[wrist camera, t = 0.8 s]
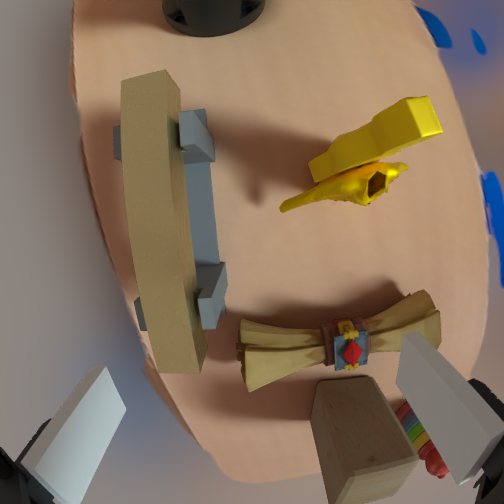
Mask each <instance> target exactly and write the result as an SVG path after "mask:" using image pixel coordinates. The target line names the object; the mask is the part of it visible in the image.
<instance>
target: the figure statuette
mask: <svg viewBox="0 0 504 504" xmlns="http://www.w3.org/2000/svg"><path fill="white" fill-rule="evenodd" d="M441 133H443V130H442V127H441V125H440V122H439V120H438V118H437V115H436V113H435V111H434V108H433V106H432V104H431V102H430V99H429V97H428V96H422V97H407V98H403V99H401V100H400V101H398V102H397V103H396V104H394V105H392V106H390V107H389V108H387V109H385V110H383V111H381V112H380V113H378V114H377V115H375V116H374V117H373V119H372V121H371V122H369V123H368V124H366V125H364V126H362V127H360V128H358V129H357V130H354V131H352V132H349V133H346V134H343V135H340V136H338V137H337V138H336V139H335V140H334V142H333V144H331V145H330V146H329V149H328V151H326V152H325V153H323V154H321V155H319V156H317V157H316V158H314V159H312V160H311V161H310V162H309V163H308V166H309V168H310V171H311V174H312V176H313V179H314V181H315V183H317V182H320V183H319V185H318V186H316V187H314V188H312V189H310V190H308V191H306V192H304V193H302V194H300V195H297V196H295V197H292V198H290V199H287V200H285V201H284V202H283V203H282V204H281V206H280V211H281V212H282V213H284V212H286V211H289V210H291V209H294V208H297V207H300V206H302V205H306V204H309V203H312V202H317V201H321V200H325V199H330V200H334V201H337V200H338V201H344V202H346V201H350V202H353V203H355V204H359V205H364V206H366V204H370V202H372V201H373V200H375V199H376V198H378V197H379V196H380V195H381V194H382V193H384V192H388V184H390V183H391V182H393V181H394V179H395V178H397V177H398V176H399V174H400V173H401V172H403V171H405V170H408V168H409V167H408V165H407V164H405V163H402V162H397V163H384V162H377V161H378V160H380V159H383V158H386V157H388V156H391V155H393V154H396V153H399V152H401V149H403V148H406V147H408V146H411V145H414V144H417V143H420V142H423V141H425V140H428V139H431V138H433V137H435V136H437V135H439V134H441Z"/></svg>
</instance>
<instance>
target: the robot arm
mask: <svg viewBox="0 0 504 504" xmlns="http://www.w3.org/2000/svg"><path fill="white" fill-rule="evenodd" d="M264 5H265V0H162V9H163V12H164V15H165V17H166V18H167V20H168V22H169V24H170V25H171V26H172V27H173V28H175V29H176V30H178V31H180V32H182V33H184V34H187V35H192V36H198V37H213V36H220V35H225V34H229V33H232V32H235V31H238V30H240V29H242V28H244V27H246V26H248V25H249V24H251V23H252V22H253V21H255V20H256V19H257V18H258V17H259V15H260V14H261V12H262V11H263V9H264ZM396 384H397V386H398V388H399V389H400V391H401V392H402V394H403V395H404V397H405V398H406V400H407V402H408V403H409V405H410V406H411V408H412V409H413V411H414V413H415V414H416V416H417V417H418V419H419V421H420V422H421V424H422V425H423V427H424V429H425V430H426V432H427V434H428V435H429V437H430V439H431V440H432V442H433V444H434V445H435V447H436V449H437V450H438V452H439V454H440V455H441V457H442V459H443V461H444V462H445V464H446V466H447V468H448V469H449V471H450V473H451V474H452V476H453V478H454V480H455V482H456V484H457V485H458V486H459V485H461V484H463V483H464V482H466V481H468V480H469V479H471V478H473V477H474V476H475V475H476V474H477V473H478V471H479V470H480V469H481V467H482V469H483V470H484V473H483V475H482V476H481V477H480V479H478V481H477V482H476V483H475V485H474V487H473V488H476V487H477V486H478V485H479V484H480V486H479V490H478V494H477V497H476V501H475V504H504V404H503V403H502V402H501V401H500V400H499V399H497V396H496V395H495V394H493V393H491V390H490V389H489V388H488V387H487V386H486V385H485V384H484V383H482V382H480V381H478V380H476V379H474V378H473V379H471V380H469V381H466V380H465V379H464V377H463V376H462V375H461V374H460V373H459V372H458V371H457V370H456V369H455V368H454V367H453V366H452V365H451V364H450V363H449V362H448V361H447V360H446V359H445V358H444V357H443V356H442V355H441V354H440V353H439V352H438V351H437V350H436V349H435V348H434V347H433V346H432V345H431V344H430V343H429V342H428V341H427V340H426V339H425V338H424V337H423V336H422V335H421V334H420V333H419V332H418V331H415V332H411V333H407V334H404V335H403V338H402V346H401V354H400V360H399V367H398V373H397V378H396ZM125 411H126V408H125V406H124V404H123V402H122V400H121V398H120V396H119V394H118V392H117V389H116V388H115V385H114V383H113V381H112V379H111V377H110V374H109V372H108V370H107V367H106V366H93V367H92V368H91V369H90V370H89V372H88V373H87V374H86V375H85V377H84V378H83V379H82V380H81V382H80V383H79V384H78V385H77V387H76V388H75V389H74V391H73V392H72V393H71V394H70V396H69V397H68V398H67V400H66V401H65V402H64V403H63V405H62V406H61V407H60V409H59V410H58V411H57V413H56V414H55V415H54V417H53V418H52V419H49V420H47V421H46V422H45V423H43V424H42V425H41V427H40V428H39V429H38V431H37V432H36V434H35V435H34V436H33V437H32V440H30V441H29V443H28V444H27V446H26V447H25V448H24V450H23V451H22V453H21V454H20V455H19V457H18V458H17V460H16V461H15V462H13V461H12V460H11V458H10V457H9V456H8V455H7V454H6V452H5V451H4V450H3V449H2V448H1V447H0V504H55V503H54V502H53V501H52V500H53V498H54V497H55V498H56V499H57V500H58V501H59V502H61V503H62V504H80V503H81V501H82V499H83V497H84V495H85V492H86V490H87V488H88V486H89V484H90V482H91V480H92V478H93V475H94V473H95V471H96V469H97V467H98V465H99V463H100V461H101V459H102V457H103V455H104V453H105V451H106V449H107V446H108V445H109V442H110V441H111V439H112V437H113V435H114V433H115V431H116V429H117V427H118V425H119V423H120V421H121V419H122V417H123V415H124V413H125Z"/></svg>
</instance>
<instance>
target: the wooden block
mask: <svg viewBox="0 0 504 504" xmlns="http://www.w3.org/2000/svg"><path fill="white" fill-rule="evenodd" d="M310 423H311V427H312V432H313V436H314V440H315V445H316V449H317V453H318V458H319V462H320V467H321V471H322V475H323V479H324V484H325V489H326V493H327V498H328V503H329V504H364V503H368V502H373V501H376V500H380V499H384V498H387V497H391V496H393V495H394V494H396V493H397V491H398V490H399V489H400V487H401V486H402V485H403V483H404V482H405V481H406V479H407V478H408V477H409V475H410V474H411V473H412V471H413V470H414V468H415V467H416V465H417V464H418V462H419V455H418V453H417V452H416V450H415V448H414V446H413V444H412V443H411V441H410V439H409V437H408V436H407V434H406V432H405V430H404V429H403V427H402V425H401V423H400V422H399V420H398V418H397V417H396V415H395V413H394V412H393V410H392V408H391V406H390V405H389V403H388V401H387V400H386V398H385V396H384V395H383V393H382V391H381V390H380V388H379V386H378V385H377V383H376V381H375V380H374V378H372V377H369V376H368V377H359V378H350V379H339V380H327V381H321V382H319V383H318V385H317V388H316V393H315V399H314V404H313V409H312V414H311V419H310Z"/></svg>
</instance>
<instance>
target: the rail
mask: <svg viewBox="0 0 504 504" xmlns="http://www.w3.org/2000/svg"><path fill="white" fill-rule="evenodd" d="M179 112H181V100H180V89H179V87H178V86H177V84H176V83H175V82H174V80H173V79H172V78H171V76H170V75H169V73H168V72H167V71H166V70H162V71H157V72H153V73H149V74H145V75H141V76H137V77H133V78H130V79H126V80H123V81H121V154H122V171H123V184H124V196H125V206H126V215H127V223H128V231H129V238H130V245H131V251H132V258H133V264H134V269H135V275H136V280H137V286H138V291H139V296H140V300H141V305H142V310H143V314H144V318H145V323H146V327H147V331H148V335H149V339H150V343H151V347H152V350H153V354H154V358H155V361H156V365H157V368H158V372H159V373H200V372H201V369H202V365H203V362H204V358H205V355H206V351H207V347H208V345H207V339H206V333H205V330H203V328H202V322H201V316H200V310H199V304H198V297H199V289H198V282H197V275H196V268H195V261H194V253H193V245H192V237H191V228H190V219H189V210H188V200H187V190H186V178H185V166H184V153H183V147H181V143H180V126H179Z"/></svg>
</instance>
